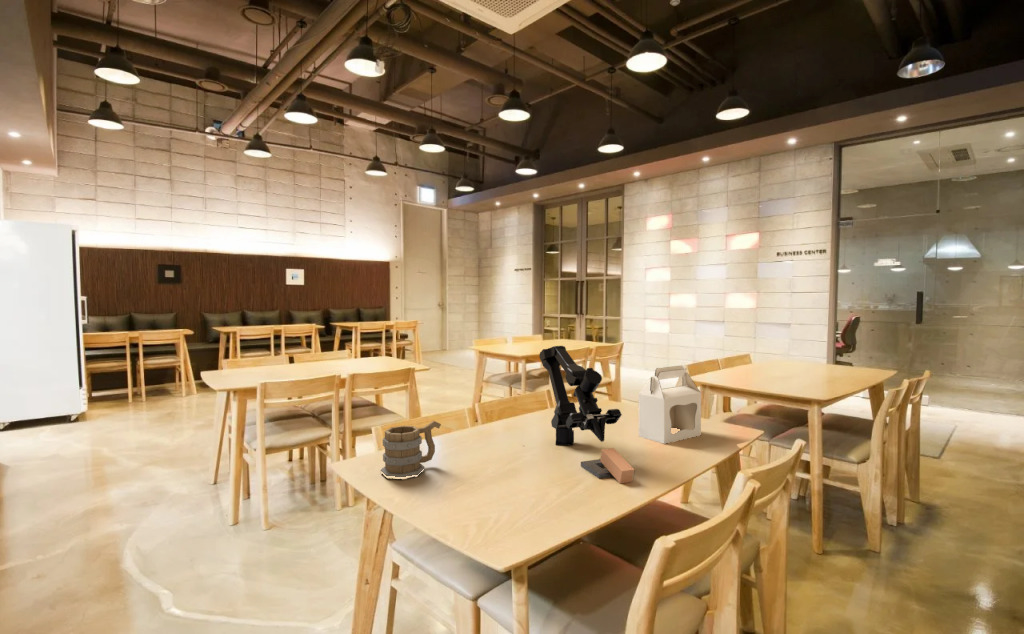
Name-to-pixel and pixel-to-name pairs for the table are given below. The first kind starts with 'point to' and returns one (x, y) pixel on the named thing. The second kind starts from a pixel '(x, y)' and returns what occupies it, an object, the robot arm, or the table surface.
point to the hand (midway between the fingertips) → (602, 441)
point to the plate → (596, 468)
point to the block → (617, 465)
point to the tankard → (407, 449)
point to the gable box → (669, 407)
